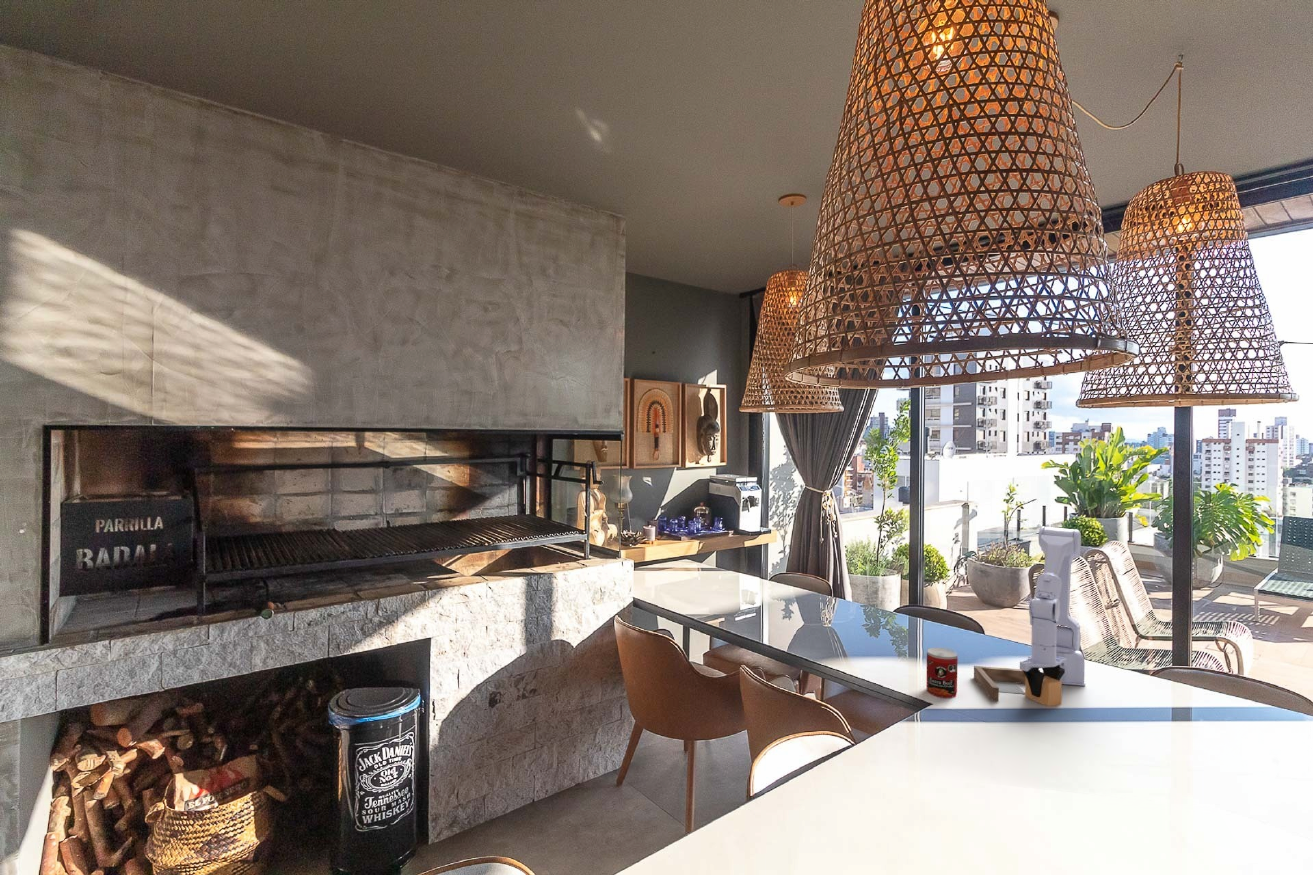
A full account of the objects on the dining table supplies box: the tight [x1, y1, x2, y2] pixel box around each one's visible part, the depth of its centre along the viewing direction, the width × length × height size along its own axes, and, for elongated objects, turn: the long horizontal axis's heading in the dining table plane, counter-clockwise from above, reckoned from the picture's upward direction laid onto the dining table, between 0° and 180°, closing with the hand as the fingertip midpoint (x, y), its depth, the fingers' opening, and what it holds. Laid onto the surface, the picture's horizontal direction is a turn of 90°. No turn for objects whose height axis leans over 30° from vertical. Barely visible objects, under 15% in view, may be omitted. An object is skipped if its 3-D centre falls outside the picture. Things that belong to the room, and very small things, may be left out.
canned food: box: [926, 647, 959, 699], centre depth 179 cm, size 8×8×11 cm
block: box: [1024, 676, 1063, 707], centre depth 175 cm, size 4×7×6 cm, turn 19°
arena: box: [973, 665, 1026, 702], centre depth 181 cm, size 17×17×4 cm
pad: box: [993, 681, 1025, 695], centre depth 184 cm, size 9×8×1 cm
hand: (1043, 694), depth 175 cm, fingers closed on block, 4 cm apart
